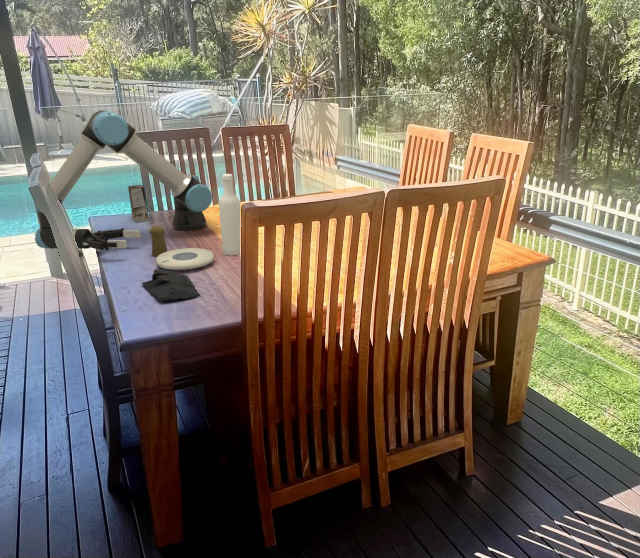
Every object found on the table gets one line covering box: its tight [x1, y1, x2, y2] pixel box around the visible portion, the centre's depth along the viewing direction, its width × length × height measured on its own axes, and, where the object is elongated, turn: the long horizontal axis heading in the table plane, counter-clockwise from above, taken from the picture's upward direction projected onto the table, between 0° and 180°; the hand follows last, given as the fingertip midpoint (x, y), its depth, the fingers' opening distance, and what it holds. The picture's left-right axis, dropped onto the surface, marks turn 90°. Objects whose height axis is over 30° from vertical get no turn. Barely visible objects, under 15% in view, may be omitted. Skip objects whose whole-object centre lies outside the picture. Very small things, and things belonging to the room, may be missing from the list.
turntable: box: [155, 247, 215, 271], centre depth 189 cm, size 20×20×2 cm
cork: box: [149, 225, 168, 258], centre depth 199 cm, size 6×6×11 cm
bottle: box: [218, 173, 241, 256], centre depth 197 cm, size 8×8×30 cm
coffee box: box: [127, 184, 149, 223], centre depth 248 cm, size 9×6×16 cm
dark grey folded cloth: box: [141, 269, 201, 302], centre depth 166 cm, size 15×22×5 cm
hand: (133, 239), depth 199 cm, fingers open, 13 cm apart
